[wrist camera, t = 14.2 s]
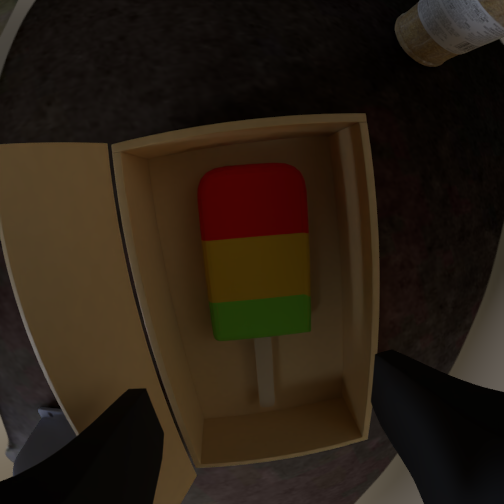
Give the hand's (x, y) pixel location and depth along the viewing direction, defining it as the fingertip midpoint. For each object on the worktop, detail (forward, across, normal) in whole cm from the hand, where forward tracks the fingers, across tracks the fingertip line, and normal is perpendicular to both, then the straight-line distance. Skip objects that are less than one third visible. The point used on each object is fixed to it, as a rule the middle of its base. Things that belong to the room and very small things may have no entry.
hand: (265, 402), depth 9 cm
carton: (+10, -1, 0) cm, 10 cm away
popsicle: (+10, -1, 0) cm, 10 cm away
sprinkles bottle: (+10, -14, -16) cm, 23 cm away
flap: (+2, +6, 0) cm, 6 cm away
